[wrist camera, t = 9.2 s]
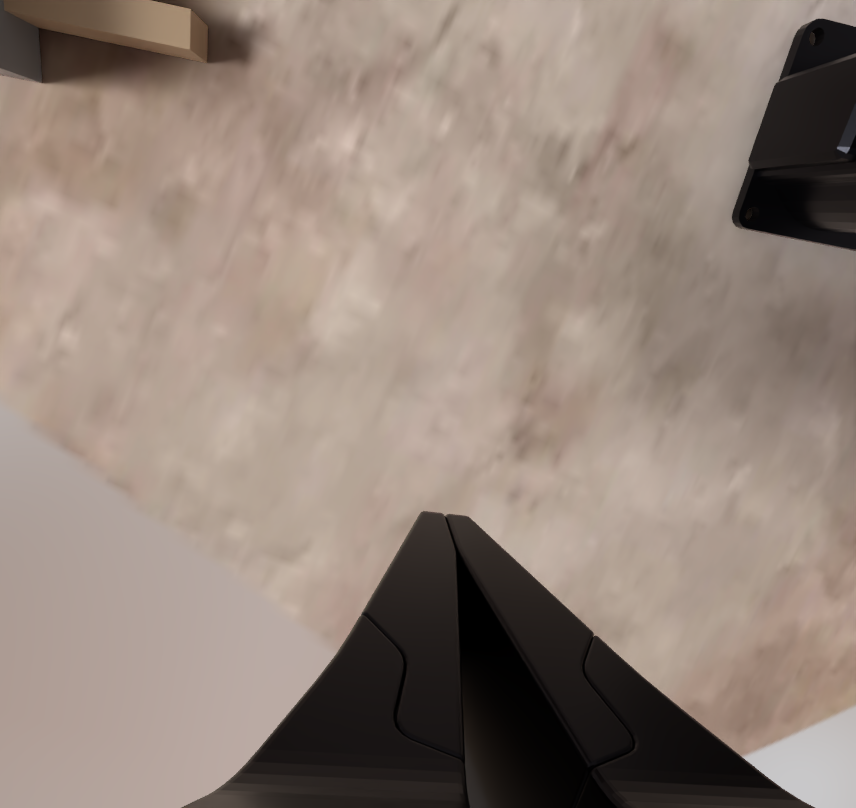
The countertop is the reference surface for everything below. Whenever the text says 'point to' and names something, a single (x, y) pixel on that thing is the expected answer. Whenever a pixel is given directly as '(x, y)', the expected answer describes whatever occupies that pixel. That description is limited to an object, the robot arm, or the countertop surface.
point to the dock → (96, 29)
